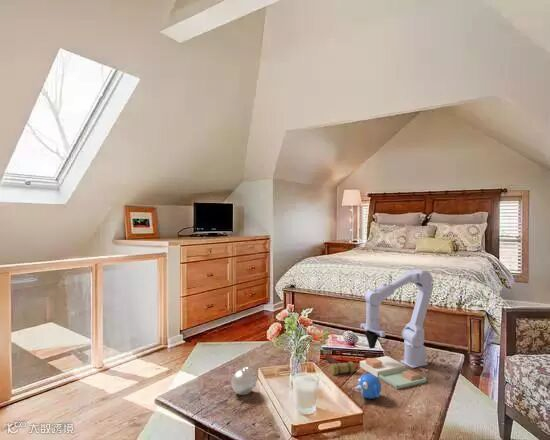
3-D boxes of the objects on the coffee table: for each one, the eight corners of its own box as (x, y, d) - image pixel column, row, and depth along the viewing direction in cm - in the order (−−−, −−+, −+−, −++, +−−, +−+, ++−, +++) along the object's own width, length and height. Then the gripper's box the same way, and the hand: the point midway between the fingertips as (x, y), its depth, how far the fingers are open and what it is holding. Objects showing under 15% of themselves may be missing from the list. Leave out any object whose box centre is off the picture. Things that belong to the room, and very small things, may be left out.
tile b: (374, 362, 161) (374, 357, 161) (382, 366, 157) (382, 361, 157) (365, 363, 159) (365, 359, 159) (373, 368, 155) (373, 363, 155)
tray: (406, 371, 158) (406, 367, 158) (427, 382, 147) (427, 378, 147) (377, 377, 151) (378, 374, 151) (397, 389, 141) (397, 385, 141)
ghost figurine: (250, 401, 130) (250, 374, 130) (227, 396, 133) (227, 370, 133) (259, 390, 138) (259, 364, 138) (237, 386, 142) (238, 361, 142)
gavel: (314, 351, 172) (333, 349, 175) (315, 361, 172) (333, 359, 175) (334, 365, 152) (354, 363, 155) (334, 376, 152) (355, 374, 155)
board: (386, 361, 169) (387, 355, 169) (405, 371, 158) (406, 365, 158) (359, 366, 162) (359, 361, 162) (377, 377, 151) (377, 371, 151)
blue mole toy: (343, 393, 137) (343, 371, 137) (368, 388, 142) (368, 366, 142) (362, 409, 126) (362, 385, 126) (389, 402, 131) (389, 379, 131)
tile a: (420, 374, 149) (420, 379, 149) (410, 369, 154) (410, 374, 154) (411, 376, 147) (411, 381, 147) (402, 371, 151) (402, 376, 151)
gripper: (355, 314, 167) (354, 343, 167) (376, 323, 154) (375, 354, 154) (367, 313, 170) (366, 341, 170) (389, 321, 157) (388, 352, 157)
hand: (371, 347), depth 162 cm, fingers closed
